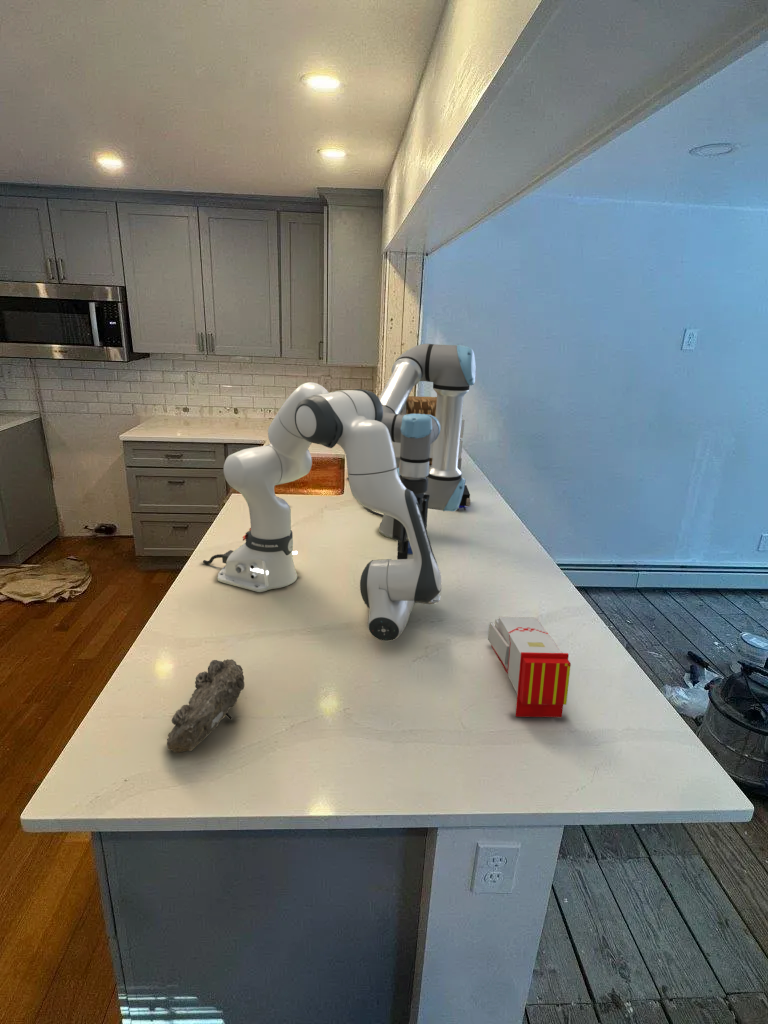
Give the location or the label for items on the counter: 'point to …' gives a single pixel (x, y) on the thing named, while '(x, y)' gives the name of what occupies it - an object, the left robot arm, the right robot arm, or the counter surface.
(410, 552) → the lid
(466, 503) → the figurine character
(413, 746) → the counter surface
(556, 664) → the toy
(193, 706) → the fossil
